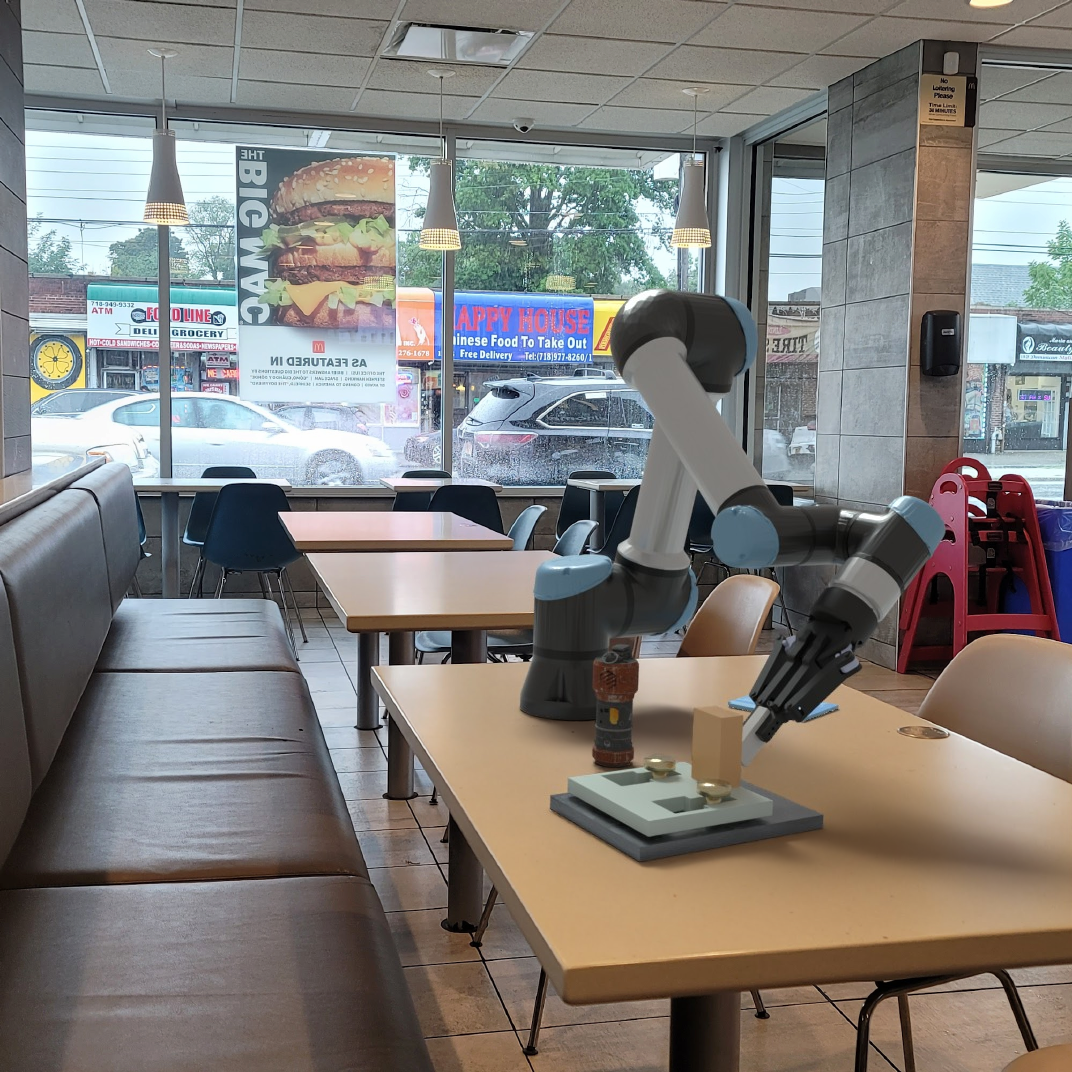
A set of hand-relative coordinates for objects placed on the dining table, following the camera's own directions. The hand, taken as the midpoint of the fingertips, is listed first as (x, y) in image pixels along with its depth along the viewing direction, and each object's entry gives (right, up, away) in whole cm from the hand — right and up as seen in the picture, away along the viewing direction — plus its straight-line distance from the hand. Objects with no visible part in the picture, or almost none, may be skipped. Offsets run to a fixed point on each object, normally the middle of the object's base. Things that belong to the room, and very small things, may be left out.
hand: (736, 758), depth 130 cm
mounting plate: (-6, -6, -3) cm, 9 cm away
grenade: (-12, -4, +19) cm, 23 cm away
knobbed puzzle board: (-8, -4, -4) cm, 10 cm away
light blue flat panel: (+16, -3, +52) cm, 54 cm away
